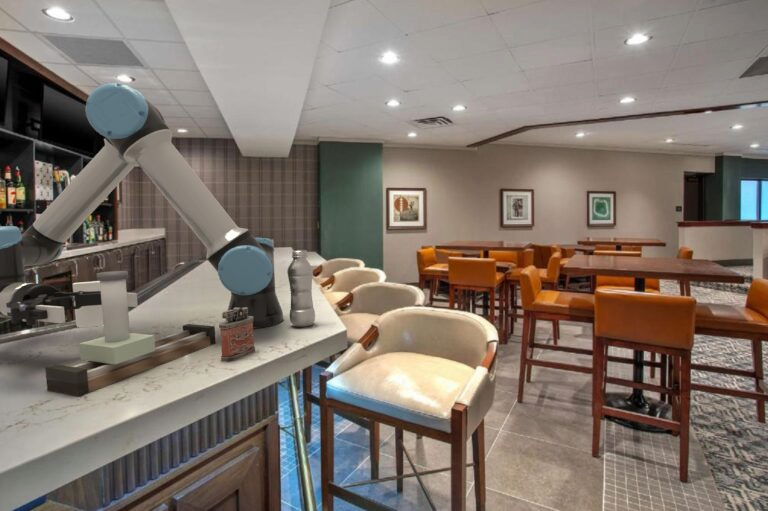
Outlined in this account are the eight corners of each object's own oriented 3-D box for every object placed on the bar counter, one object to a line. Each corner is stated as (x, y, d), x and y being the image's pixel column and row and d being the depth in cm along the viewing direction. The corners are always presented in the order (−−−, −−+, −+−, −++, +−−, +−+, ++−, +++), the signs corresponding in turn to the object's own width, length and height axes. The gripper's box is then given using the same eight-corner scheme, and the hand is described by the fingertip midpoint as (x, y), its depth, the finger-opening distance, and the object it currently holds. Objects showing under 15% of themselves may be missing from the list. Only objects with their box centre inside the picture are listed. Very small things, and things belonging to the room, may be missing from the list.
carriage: (122, 346, 82) (116, 269, 81) (155, 350, 79) (149, 270, 78) (80, 359, 75) (73, 274, 74) (115, 364, 72) (107, 276, 70)
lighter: (247, 349, 90) (245, 303, 89) (258, 350, 88) (256, 305, 87) (217, 360, 83) (214, 311, 82) (229, 362, 81) (226, 313, 80)
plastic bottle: (310, 329, 105) (307, 251, 103) (285, 328, 106) (281, 251, 104) (319, 323, 111) (316, 249, 109) (295, 322, 112) (292, 249, 111)
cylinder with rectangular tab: (74, 329, 111) (70, 285, 110) (78, 322, 119) (74, 281, 118) (113, 324, 116) (110, 282, 114) (115, 318, 123) (112, 278, 122)
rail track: (189, 340, 97) (188, 323, 97) (215, 343, 95) (214, 326, 94) (47, 390, 70) (45, 367, 69) (78, 396, 67) (76, 372, 66)
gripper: (95, 307, 96) (161, 312, 89) (-47, 335, 73) (25, 346, 66) (92, 275, 96) (158, 277, 88) (-52, 294, 73) (20, 299, 65)
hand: (102, 306), depth 77 cm, fingers open, 13 cm apart
